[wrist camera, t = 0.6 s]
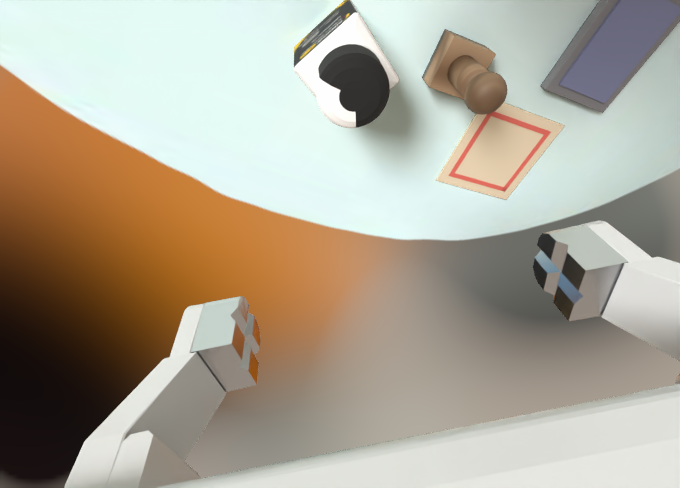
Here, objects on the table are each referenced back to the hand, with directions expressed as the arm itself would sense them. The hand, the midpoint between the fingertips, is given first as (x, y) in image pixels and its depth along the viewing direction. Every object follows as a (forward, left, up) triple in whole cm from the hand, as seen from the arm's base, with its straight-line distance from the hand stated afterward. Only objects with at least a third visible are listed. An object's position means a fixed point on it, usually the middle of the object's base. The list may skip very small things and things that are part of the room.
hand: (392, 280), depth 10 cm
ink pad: (-7, +31, -35) cm, 47 cm away
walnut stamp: (0, +15, -35) cm, 38 cm away
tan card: (+8, +27, -35) cm, 44 cm away
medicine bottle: (+3, +3, -35) cm, 35 cm away
